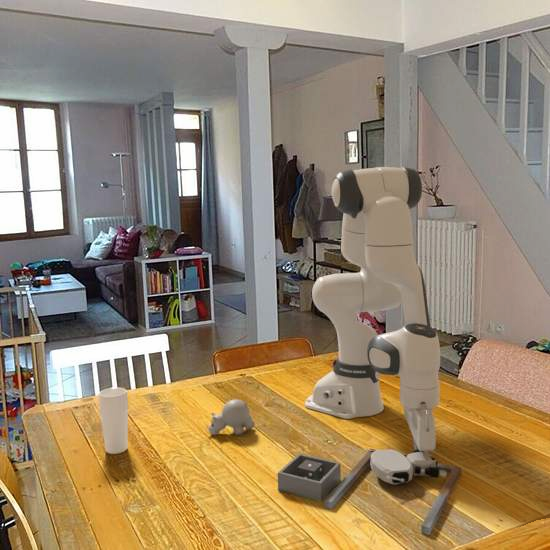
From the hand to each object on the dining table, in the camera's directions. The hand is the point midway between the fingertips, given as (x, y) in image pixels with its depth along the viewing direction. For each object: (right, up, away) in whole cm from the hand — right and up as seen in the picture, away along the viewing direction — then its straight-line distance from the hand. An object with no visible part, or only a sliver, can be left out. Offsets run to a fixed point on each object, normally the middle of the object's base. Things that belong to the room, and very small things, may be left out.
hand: (418, 452), depth 139 cm
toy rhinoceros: (-45, 0, +17) cm, 48 cm away
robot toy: (-5, -3, -8) cm, 10 cm away
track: (-8, -4, -13) cm, 16 cm away
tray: (-26, -4, -11) cm, 28 cm away
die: (-26, -3, -11) cm, 28 cm away
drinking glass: (-72, -2, +9) cm, 73 cm away
